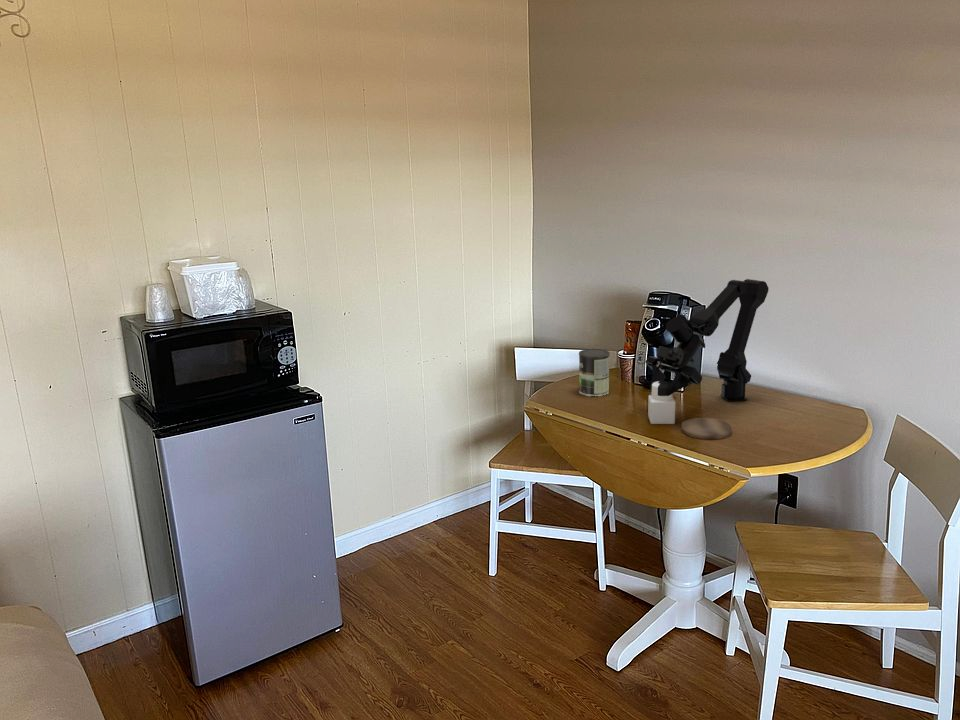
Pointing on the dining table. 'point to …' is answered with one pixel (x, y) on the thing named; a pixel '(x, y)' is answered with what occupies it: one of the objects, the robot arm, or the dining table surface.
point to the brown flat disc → (706, 428)
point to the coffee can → (594, 372)
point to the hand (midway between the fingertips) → (658, 392)
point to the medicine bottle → (661, 404)
